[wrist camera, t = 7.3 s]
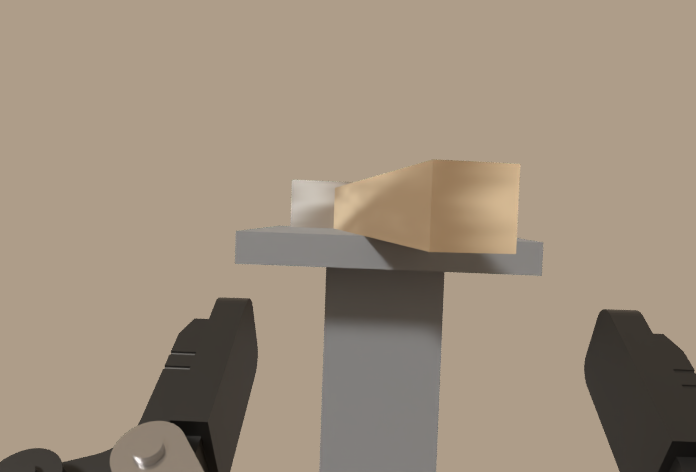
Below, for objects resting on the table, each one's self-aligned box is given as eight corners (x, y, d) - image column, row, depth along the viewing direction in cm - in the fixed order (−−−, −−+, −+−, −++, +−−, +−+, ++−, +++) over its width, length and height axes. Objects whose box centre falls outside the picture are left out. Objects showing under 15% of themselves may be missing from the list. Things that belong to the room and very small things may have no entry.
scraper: (334, 249, 16) (338, 139, 16) (290, 226, 38) (291, 180, 37) (601, 256, 17) (607, 154, 17) (409, 230, 39) (411, 185, 39)
